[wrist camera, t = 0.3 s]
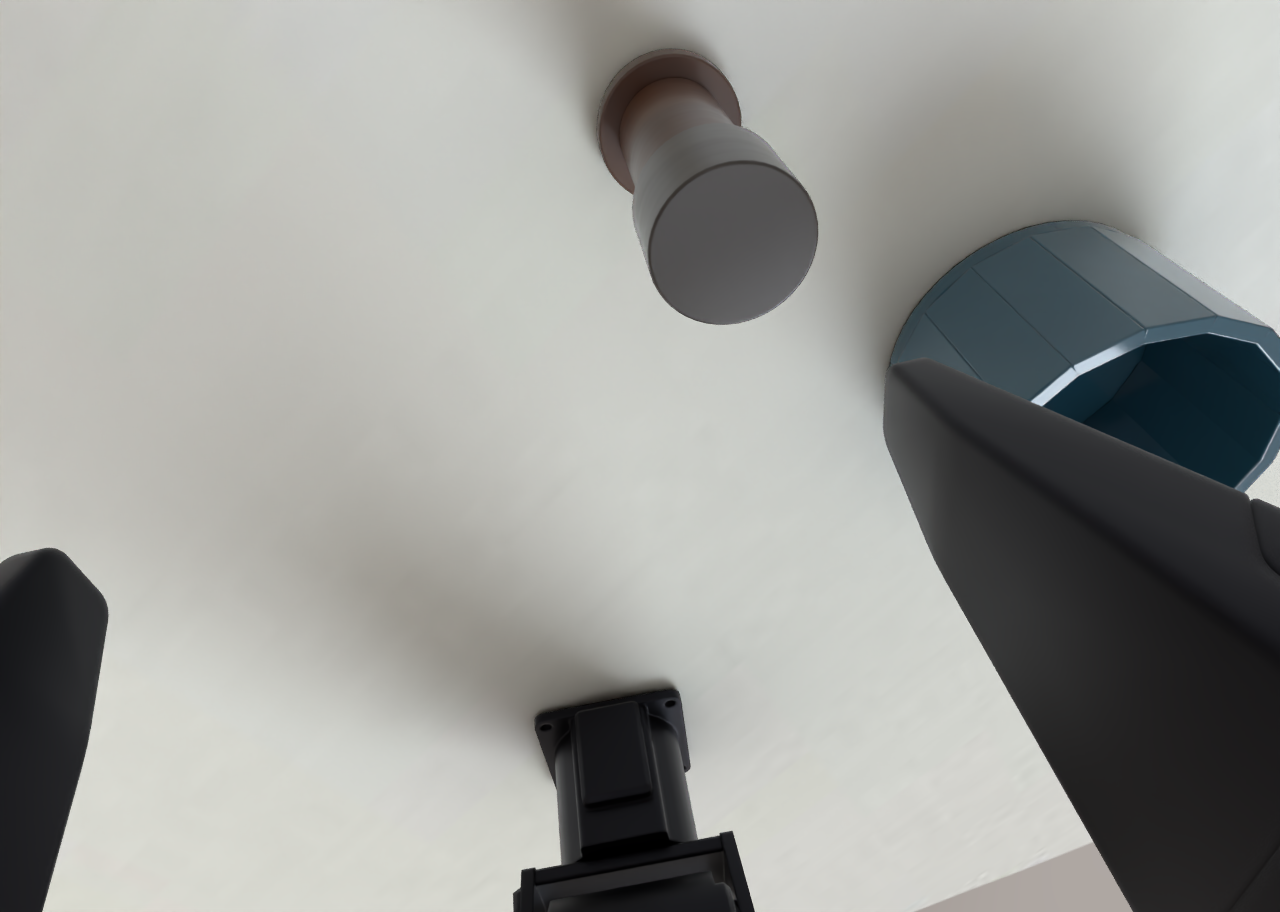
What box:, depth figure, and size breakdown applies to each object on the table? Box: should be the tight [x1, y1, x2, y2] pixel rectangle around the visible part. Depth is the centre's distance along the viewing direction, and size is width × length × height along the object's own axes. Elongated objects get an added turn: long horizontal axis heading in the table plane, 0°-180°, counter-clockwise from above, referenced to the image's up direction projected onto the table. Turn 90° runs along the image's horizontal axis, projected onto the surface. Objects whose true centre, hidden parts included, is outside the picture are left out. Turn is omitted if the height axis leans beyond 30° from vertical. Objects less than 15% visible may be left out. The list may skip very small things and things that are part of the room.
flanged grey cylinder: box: [597, 49, 818, 325], centre depth 18 cm, size 4×4×7 cm
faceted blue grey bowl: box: [889, 221, 1280, 493], centre depth 24 cm, size 9×9×6 cm
